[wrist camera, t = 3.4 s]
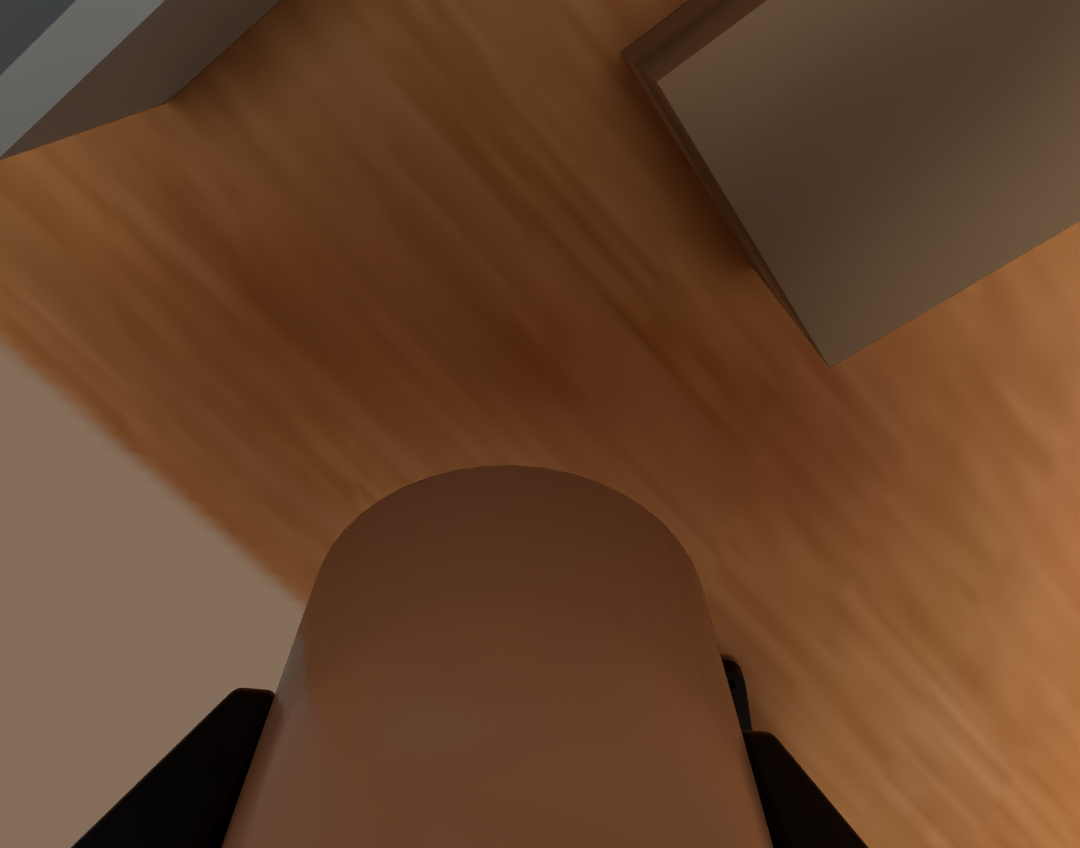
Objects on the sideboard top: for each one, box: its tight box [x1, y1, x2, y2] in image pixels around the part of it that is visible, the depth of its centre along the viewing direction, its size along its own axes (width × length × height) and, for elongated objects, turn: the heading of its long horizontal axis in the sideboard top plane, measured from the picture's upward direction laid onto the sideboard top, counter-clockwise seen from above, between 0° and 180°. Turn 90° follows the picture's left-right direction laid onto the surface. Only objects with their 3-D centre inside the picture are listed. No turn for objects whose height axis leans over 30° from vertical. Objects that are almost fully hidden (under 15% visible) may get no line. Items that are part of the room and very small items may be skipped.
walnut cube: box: [621, 0, 1080, 368], centre depth 13 cm, size 5×5×5 cm
